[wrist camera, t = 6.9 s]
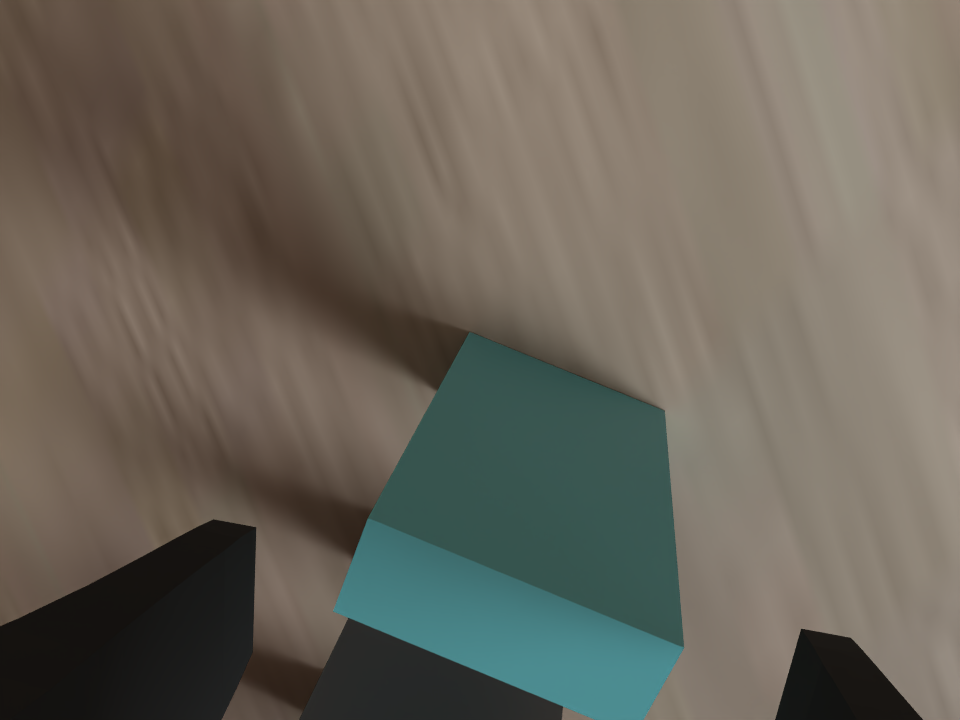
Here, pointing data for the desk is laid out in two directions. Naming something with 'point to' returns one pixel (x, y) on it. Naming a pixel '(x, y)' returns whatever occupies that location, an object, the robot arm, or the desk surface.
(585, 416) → the domino
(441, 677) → the domino
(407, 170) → the desk surface
